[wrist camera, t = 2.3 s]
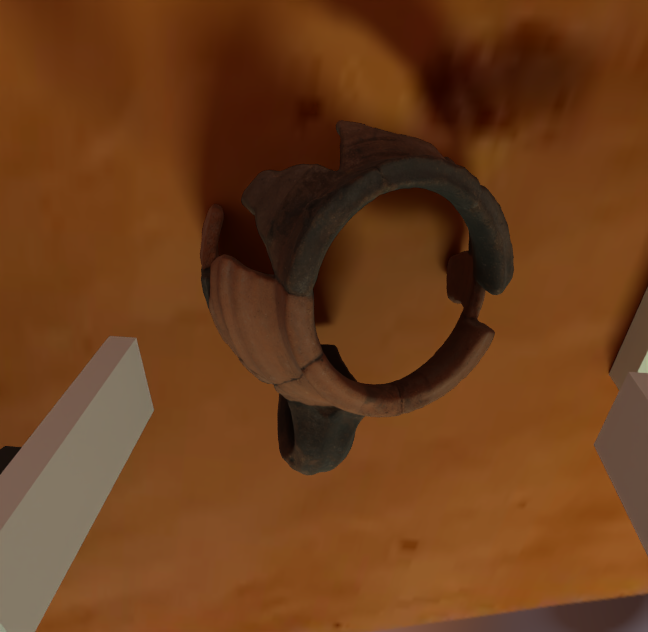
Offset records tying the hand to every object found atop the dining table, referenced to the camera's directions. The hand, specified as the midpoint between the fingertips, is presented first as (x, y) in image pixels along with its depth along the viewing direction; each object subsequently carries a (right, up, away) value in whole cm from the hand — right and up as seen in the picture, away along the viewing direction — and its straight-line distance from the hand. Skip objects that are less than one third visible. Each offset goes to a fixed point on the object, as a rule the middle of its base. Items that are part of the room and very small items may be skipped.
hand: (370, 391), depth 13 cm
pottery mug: (-1, +4, +6) cm, 7 cm away
